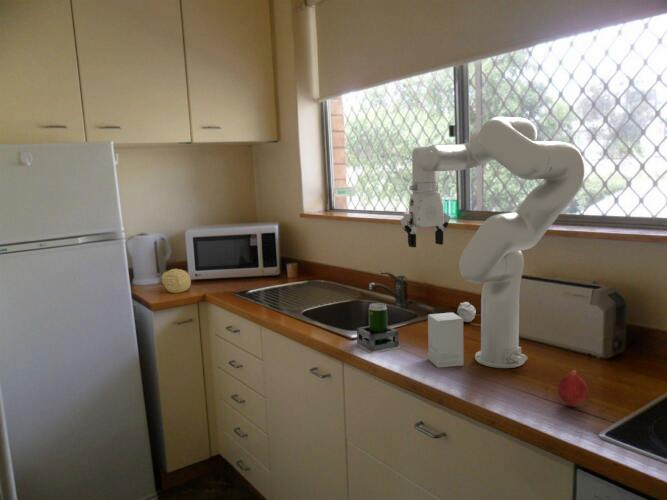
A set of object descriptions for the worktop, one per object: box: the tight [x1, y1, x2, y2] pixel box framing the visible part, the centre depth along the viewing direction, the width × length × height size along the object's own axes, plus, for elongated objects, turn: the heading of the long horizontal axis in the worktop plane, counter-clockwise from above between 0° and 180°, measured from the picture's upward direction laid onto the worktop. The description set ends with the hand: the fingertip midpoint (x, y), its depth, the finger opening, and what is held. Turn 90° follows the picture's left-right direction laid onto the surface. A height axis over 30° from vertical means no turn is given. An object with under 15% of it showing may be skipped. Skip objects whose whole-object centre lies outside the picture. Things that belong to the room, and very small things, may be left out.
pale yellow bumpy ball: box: [161, 268, 192, 294], centre depth 244 cm, size 11×12×11 cm
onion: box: [557, 370, 589, 408], centre depth 112 cm, size 6×6×8 cm
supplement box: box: [427, 311, 465, 369], centre depth 141 cm, size 7×7×13 cm
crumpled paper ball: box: [456, 301, 477, 323], centre depth 178 cm, size 6×7×7 cm
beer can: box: [368, 302, 388, 344], centre depth 156 cm, size 5×5×12 cm
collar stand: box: [355, 325, 401, 354], centre depth 157 cm, size 10×10×5 cm
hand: (425, 245), depth 161 cm, fingers open, 9 cm apart
